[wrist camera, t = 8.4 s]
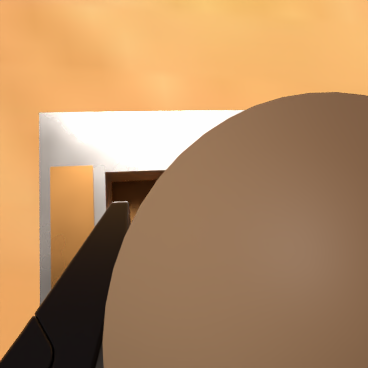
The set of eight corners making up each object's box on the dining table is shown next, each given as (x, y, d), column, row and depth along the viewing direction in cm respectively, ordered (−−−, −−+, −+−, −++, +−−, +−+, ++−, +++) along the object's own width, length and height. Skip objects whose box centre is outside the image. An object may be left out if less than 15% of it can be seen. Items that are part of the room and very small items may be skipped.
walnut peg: (158, 316, 14) (237, 751, 2) (120, 222, 14) (21, 194, 3) (247, 273, 15) (647, 444, 3) (209, 185, 15) (438, 35, 3)
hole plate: (302, 354, 16) (341, 385, 13) (61, 383, 15) (38, 426, 11) (281, 129, 18) (311, 107, 14) (58, 133, 16) (37, 110, 13)
